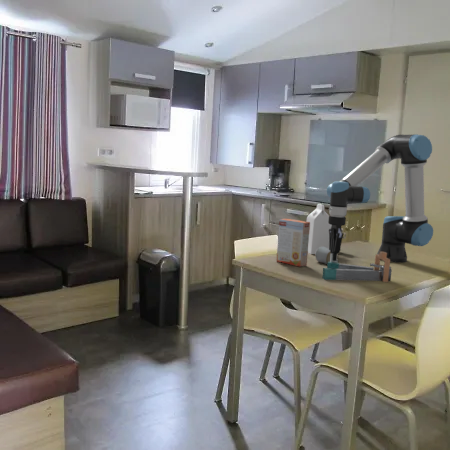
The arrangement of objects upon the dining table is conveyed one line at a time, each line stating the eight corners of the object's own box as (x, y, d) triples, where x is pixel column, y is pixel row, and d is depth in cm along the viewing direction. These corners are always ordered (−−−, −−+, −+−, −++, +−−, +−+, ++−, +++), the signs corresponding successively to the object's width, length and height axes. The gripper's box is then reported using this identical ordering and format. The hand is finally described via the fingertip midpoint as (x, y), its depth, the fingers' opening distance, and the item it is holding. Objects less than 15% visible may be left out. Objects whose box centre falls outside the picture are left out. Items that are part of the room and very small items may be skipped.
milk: (331, 254, 274) (335, 206, 271) (310, 254, 272) (314, 205, 268) (322, 250, 286) (326, 203, 282) (302, 249, 284) (306, 202, 280)
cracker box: (307, 265, 244) (310, 221, 241) (299, 267, 240) (303, 222, 237) (283, 260, 253) (286, 217, 250) (275, 261, 249) (279, 218, 246)
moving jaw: (389, 278, 228) (391, 264, 227) (389, 281, 221) (391, 267, 220) (327, 270, 235) (328, 256, 234) (325, 273, 229) (326, 259, 228)
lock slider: (377, 276, 230) (380, 250, 229) (387, 282, 220) (390, 254, 218) (373, 275, 230) (376, 249, 228) (383, 281, 220) (386, 254, 218)
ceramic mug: (326, 265, 246) (328, 250, 245) (314, 262, 253) (315, 246, 252) (341, 264, 252) (343, 249, 251) (329, 261, 259) (331, 245, 258)
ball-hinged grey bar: (387, 278, 227) (388, 267, 226) (392, 281, 222) (393, 270, 221) (321, 277, 222) (322, 265, 222) (325, 280, 218) (326, 268, 217)
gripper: (324, 213, 239) (320, 263, 242) (334, 217, 226) (329, 270, 229) (340, 214, 240) (335, 264, 243) (350, 218, 227) (345, 270, 230)
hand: (332, 267), depth 236 cm, fingers closed
